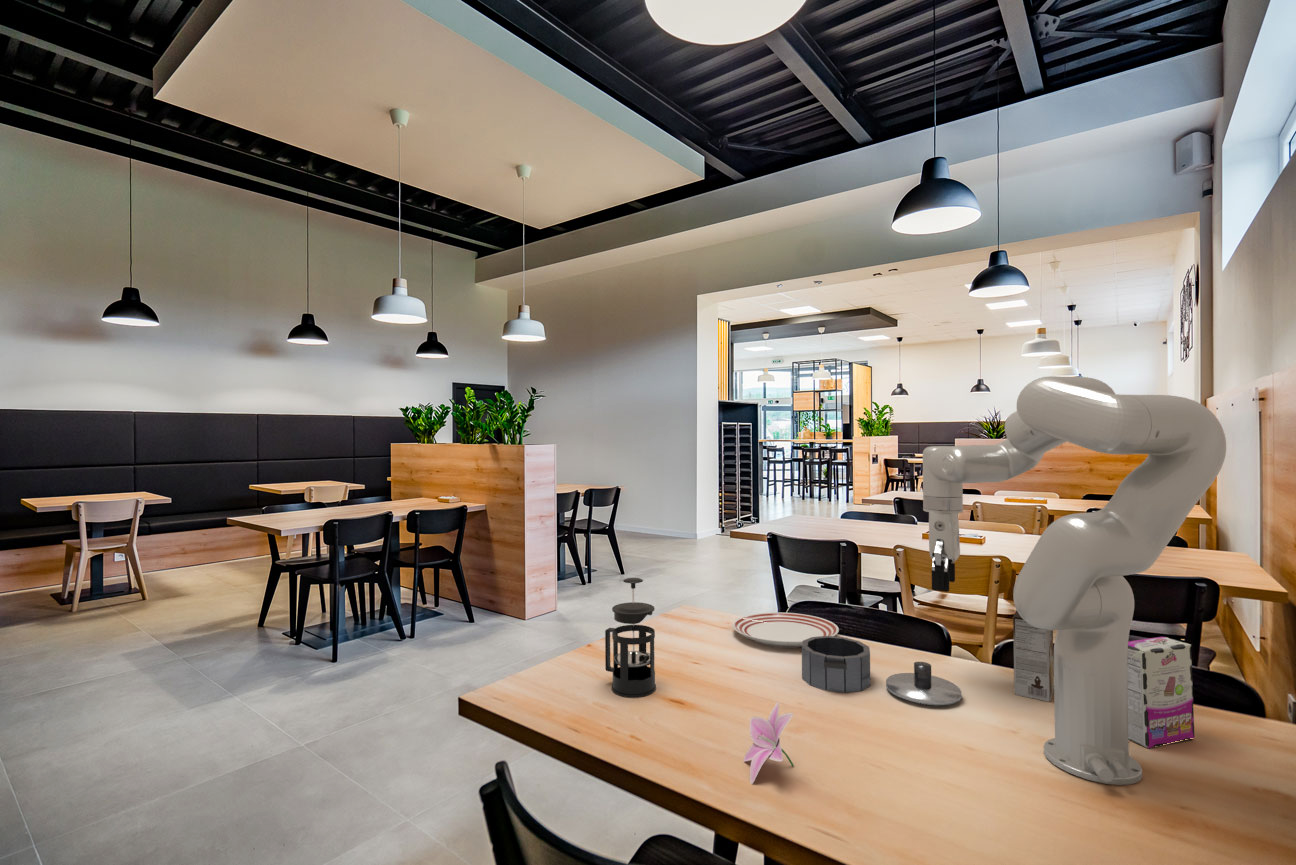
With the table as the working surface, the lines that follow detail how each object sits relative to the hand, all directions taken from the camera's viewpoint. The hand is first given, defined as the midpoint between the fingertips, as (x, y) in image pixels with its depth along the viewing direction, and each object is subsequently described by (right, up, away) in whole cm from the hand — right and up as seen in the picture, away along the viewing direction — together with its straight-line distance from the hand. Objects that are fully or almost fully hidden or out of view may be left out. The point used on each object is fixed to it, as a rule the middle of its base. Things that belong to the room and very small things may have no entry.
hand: (943, 585), depth 127 cm
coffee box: (+17, -21, -3) cm, 27 cm away
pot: (-22, -21, +4) cm, 30 cm away
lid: (-6, -21, -4) cm, 23 cm away
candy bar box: (+26, -21, -23) cm, 40 cm away
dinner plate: (-26, -22, +33) cm, 47 cm away
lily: (-43, -21, -31) cm, 58 cm away
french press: (-66, -22, 0) cm, 69 cm away
